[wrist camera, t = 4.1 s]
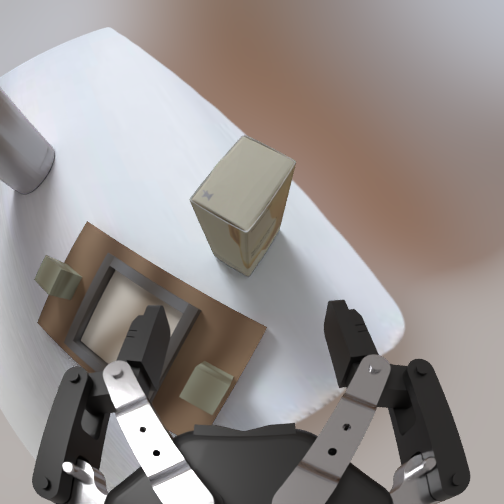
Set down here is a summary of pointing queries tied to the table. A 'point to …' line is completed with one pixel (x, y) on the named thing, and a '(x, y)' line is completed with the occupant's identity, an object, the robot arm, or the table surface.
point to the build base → (133, 304)
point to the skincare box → (244, 202)
